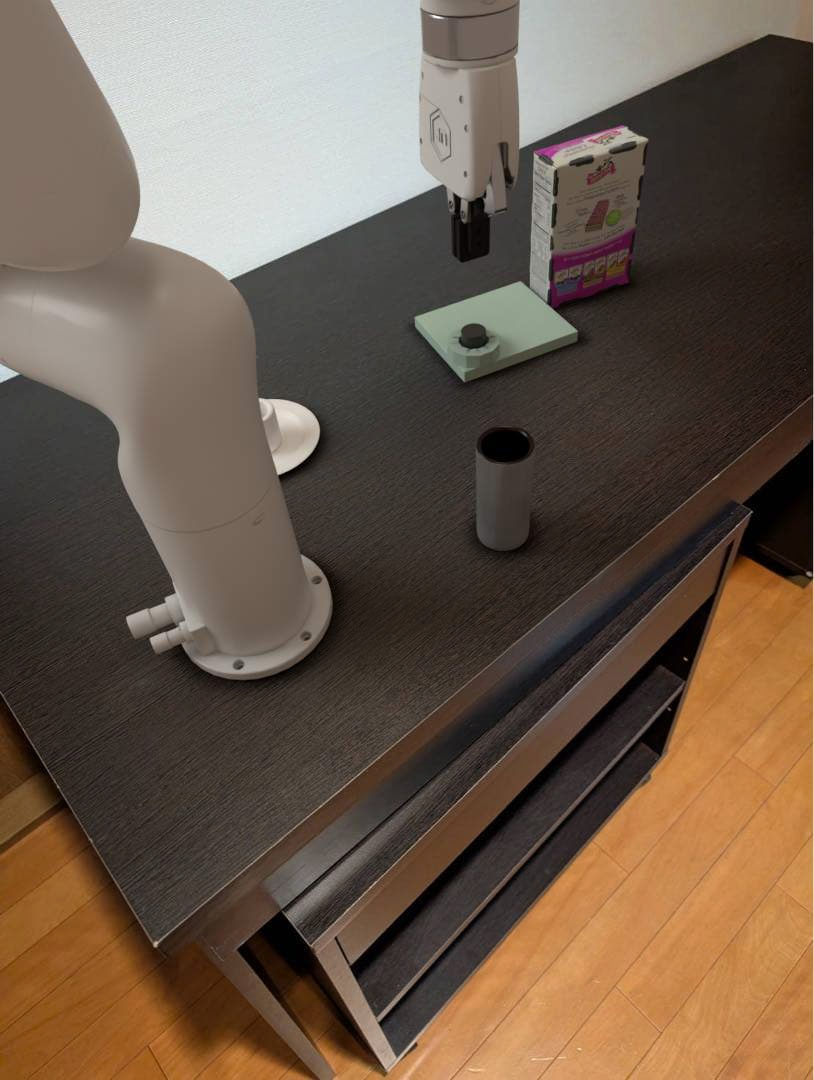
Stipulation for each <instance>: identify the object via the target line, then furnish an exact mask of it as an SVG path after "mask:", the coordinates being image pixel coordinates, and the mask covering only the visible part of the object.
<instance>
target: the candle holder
mask: <svg viewBox="0 0 814 1080" xmlns="http://www.w3.org/2000/svg"><path fill="white" fill-rule="evenodd" d="M259 403H260V409H261V414H262V419H263V424H264V428H265V432H266V436H267V439H268V443H269V447H270V450H271V454H272V457H273V461H274V464H275V467H276V471H277V474H278V476H279V475H282V474H284V473H286V472H289V471H291V470H292V469H294V468H296V467H298V466H299V465H300V464H302V463H303V462H304V461H305V460H306V459H308V457H309V456H311V454H312V453H313V452H314V450H315V448H316V447H317V445H318V442H319V440H320V435H321V427H320V424H319V421H318V419H317V418H316V415H315V414H314V413H313V412H312V411H311V410H309V408H307V407H305V406H304V405H301V404H300V403H297V402H295V401H291V400H286V399H278V398H267V399H266V398H262V397H259Z"/></svg>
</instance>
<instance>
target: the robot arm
mask: <svg viewBox="0 0 814 1080" xmlns="http://www.w3.org/2000/svg"><path fill="white" fill-rule="evenodd" d="M520 5H521V0H419V15H420V16H419V17H420V19H419V20H420V38H421V40H420V41H421V58H420V70H419V89H418V90H419V91H418V136H419V139H418V141H419V161H420V163H421V165H422V167H423V169H424V170H425V171H426V172H427V173H428V174H430V175H431V176H432V177H433V178H434V179H436V180H437V181H438V182H439V183H440V184H442V185H443V186H445V188H446V196H447V206H448V210H449V212H450V213H451V215H450V225H451V226H450V230H451V254H452V256H453V257H454V258H456V259H457V260H458V261H459V262H460V263H462V264H465V263H467V262H470V261H473V260H477V259H480V258H483V257H486V256H488V255H489V254H490V251H491V250H490V249H491V217H492V216H495V215H498V214H502V213H506V212H507V211H508V201H507V200H508V199H507V191H511V190H513V189H514V188H515V186H516V185H517V184H516V183H517V181H518V175H519V165H520V164H519V163H520V142H521V141H520V139H521V138H520V100H519V99H520V97H519V96H520V95H519V83H518V82H519V81H518V70H517V59H516V57H515V56H516V55H517V54H518V53H519V34H520V33H519V32H520V10H521V9H520ZM137 169H138V168H137V166H136V161H135V157H134V155H133V152H132V150H131V148H130V146H129V143H128V140H127V138H126V136H125V134H124V131H123V129H122V127H121V125H120V123H119V121H118V119H117V117H116V115H115V113H114V112H113V109H112V107H111V105H110V104H109V101H108V100H107V97H105V94H104V92H103V91H102V89H101V87H100V86H99V84H98V82H97V81H96V79H95V77H94V75H93V73H92V71H91V69H90V67H89V66H88V64H87V62H86V61H85V59H84V57H83V55H82V53H81V52H80V50H79V47H78V46H77V44H76V43H75V41H74V39H73V37H72V35H71V34H70V32H69V30H68V29H67V26H66V25H65V23H64V21H63V19H62V18H61V16H60V14H59V12H58V11H57V8H56V7H55V5H54V3H53V2H52V0H0V366H3V367H5V368H7V369H9V370H11V371H13V372H15V373H17V374H19V375H21V376H23V377H26V378H28V379H30V380H32V381H36V382H38V383H40V384H42V385H45V386H48V387H50V388H52V389H55V390H57V391H60V392H62V393H64V394H65V395H67V396H69V397H71V398H73V399H75V400H78V401H80V402H83V403H85V404H88V405H90V406H91V407H93V408H95V409H97V410H98V411H100V413H102V414H104V415H105V416H106V417H107V419H109V420H110V421H111V422H112V424H113V426H114V427H115V428H116V431H117V432H118V433H117V434H118V438H119V445H118V450H117V467H118V472H119V474H120V478H121V481H122V485H123V486H124V488H125V490H126V491H125V492H126V493H127V496H128V497H129V499H130V500H131V503H132V505H133V508H134V509H135V511H136V512H137V514H138V516H139V518H140V519H141V521H142V523H143V525H144V527H145V529H146V530H147V533H148V535H149V537H150V539H151V541H152V543H153V545H154V547H155V548H156V550H157V552H158V553H157V554H159V557H160V558H161V561H162V563H163V565H164V566H165V569H166V570H167V572H168V574H169V577H170V578H171V580H172V586H173V589H174V591H175V593H173V594H171V595H168V596H166V597H164V601H165V602H164V603H163V602H162V603H160V604H158V605H156V606H153V607H150V608H149V607H147V608H144V609H142V610H139V611H136V612H134V613H132V614H129V615H127V616H126V617H125V619H126V624H127V626H128V629H129V630H130V633H131V635H132V637H133V639H134V640H138V639H141V638H142V637H145V636H147V635H150V634H153V633H154V632H157V631H159V629H162V628H163V627H166V626H169V625H171V624H174V625H175V628H173V629H171V630H168V631H163V632H161V633H158V634H156V635H153V636H151V637H149V641H150V644H151V647H152V649H153V651H154V653H155V654H156V655H159V654H162V653H164V652H166V651H169V650H171V649H173V647H176V646H178V645H181V646H182V648H183V650H184V652H185V653H186V654H187V657H189V659H190V660H191V661H192V662H193V663H194V664H195V665H197V667H199V668H200V669H201V670H203V671H205V672H207V673H209V674H211V675H212V676H215V677H220V678H223V679H226V680H237V681H249V680H259V679H262V678H266V677H270V676H274V675H276V674H279V673H281V672H283V671H285V670H288V669H290V668H291V667H293V666H295V665H296V664H298V663H300V662H301V661H302V660H304V659H305V658H306V657H307V656H308V655H309V654H310V653H311V652H312V651H314V649H315V648H316V647H317V645H318V644H319V643H320V642H321V640H322V639H323V637H324V636H325V634H326V632H327V630H328V628H329V626H330V622H331V619H332V615H333V603H334V601H333V596H332V591H331V588H330V585H329V584H330V583H329V581H328V579H327V577H326V575H325V574H324V572H323V570H322V569H321V568H320V567H319V566H318V565H317V564H316V563H315V562H314V561H312V560H311V559H310V558H308V557H307V556H305V555H304V554H301V551H300V548H299V545H298V541H297V538H296V535H295V531H294V527H293V524H292V523H293V522H292V520H291V517H290V513H289V510H288V506H287V502H286V498H285V496H284V495H285V494H284V492H283V489H282V485H281V482H280V478H279V475H278V474H277V471H276V467H275V464H274V461H273V457H272V454H271V450H270V447H269V443H268V439H267V436H266V432H265V428H264V424H263V419H262V414H261V409H260V403H259V398H260V396H259V388H258V375H257V373H258V371H257V370H258V369H257V344H256V332H255V327H254V322H253V318H252V314H251V311H250V309H249V306H248V305H247V302H246V300H245V299H244V296H243V295H242V294H241V293H240V291H239V290H238V289H237V287H236V286H235V284H233V283H232V282H231V280H229V279H228V278H227V277H226V276H225V275H224V274H222V273H221V272H220V271H219V270H217V269H216V268H214V267H213V266H211V265H209V264H208V263H206V262H205V261H203V260H201V259H198V258H197V257H195V256H193V255H190V254H188V253H186V252H183V251H181V250H178V249H175V248H172V247H170V246H166V245H163V244H159V243H157V242H152V241H148V240H144V239H141V238H137V237H134V236H132V234H133V232H134V231H135V228H136V225H137V221H138V218H139V215H140V214H139V213H140V209H141V185H140V177H139V172H138V170H137Z"/></svg>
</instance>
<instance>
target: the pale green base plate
mask: <svg viewBox="0 0 814 1080" xmlns="http://www.w3.org/2000/svg"><path fill="white" fill-rule="evenodd" d="M472 323H477V324H481V325H483V326H484V327H485V328H486V344H485V346H484V347H481V348H478V349H468V348H465V347H463V346H462V344H461V329H462V328H463V327H464V326H465V325H467V324H472ZM414 327H415V329H416V330H417V331H418V332H419V333H420V334H421V336H422V337H423V338H425V340H426V341H427V342H428V343H429V344H430V346H431V347H432V348H433V349H434V350H435V352H437V354H439V356H440V357H441V358H442V359H443V360H444V361H445V362H446V364H447V365H448V366H449V367H450V368H451V369H452V370H453V371H454V373H456V375H457V376H458V377H459V378H460V379H461V380H462V382H463V383H468V382H471V381H472V380H475V379H479V378H480V377H483V376H486V375H489V374H492V373H495V372H497V371H500V370H503V369H505V368H508V367H512V366H513V365H517V364H520V363H522V362H524V361H528V360H530V359H533V358H535V357H539V356H541V355H544V354H546V353H549V352H552V351H554V350H557V349H561V348H562V347H563V348H564V347H565V346H568V345H571V344H574V343H577V342H578V335H579V331H578V330H577V329H576V327H574V326H573V325H572V324H570V323H569V322H568V321H567V320H566V319H565V318H564V317H562V315H560V314H559V313H558V312H557V311H556V310H554V309H552V308H551V307H550V306H549V305H547V304H546V303H545V302H544V301H543V300H542V299H541V298H539V297H538V296H537V295H536V294H535V293H534V292H533V291H531V290H530V289H529V286H527V285H526V284H525V283H523V282H522V281H521V280H520V281H517V282H514V283H511V284H508V285H504V286H502V287H500V288H496V289H493V290H491V291H487V292H484V293H482V294H479V295H475V296H473V297H469V298H467V299H464V300H460V301H458V302H454V303H452V304H449V305H447V306H444V307H440V308H437V309H434V310H430V311H428V312H426V313H422V314H418V315H416V316H414Z"/></svg>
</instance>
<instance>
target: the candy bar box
mask: <svg viewBox="0 0 814 1080" xmlns="http://www.w3.org/2000/svg"><path fill="white" fill-rule="evenodd" d="M648 145H649V138H647V137H646V136H643V135H641V134H639V133H638V132H636V131H634V130H632V129H630V127H628V126H626V125H619V126H616V127H613V128H609V129H606V130H602V131H599V132H595V133H591V134H588V135H585V136H581V137H578V138H575V139H572V140H568V141H564V142H562V143H557V144H554V145H551V146H548V147H545V148H540V149H538V150H534V151H533V159H532V160H533V161H532V189H531V190H532V191H531V193H532V194H531V224H530V251H529V252H530V253H529V254H530V256H529V258H530V259H529V286H528V288H529V289H530V290H531V291H533V292H534V293H535V294H536V295H537V296H538V297H539V298H541V299H542V300H543V301H544V302H545V303H546V304H547V305H549V306H550V307H551V308H552V309H553V310H554V309H556V308H560V307H562V306H566V305H569V304H571V303H574V302H576V301H580V300H583V299H585V298H588V297H591V296H594V295H598V294H600V293H603V292H606V291H609V290H612V289H614V288H617V287H621V286H623V285H626V284H629V281H630V276H631V269H632V259H633V252H634V247H635V239H636V230H637V224H638V216H639V210H640V205H641V204H640V203H641V196H642V188H643V183H644V174H645V168H646V160H647V152H648Z"/></svg>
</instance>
